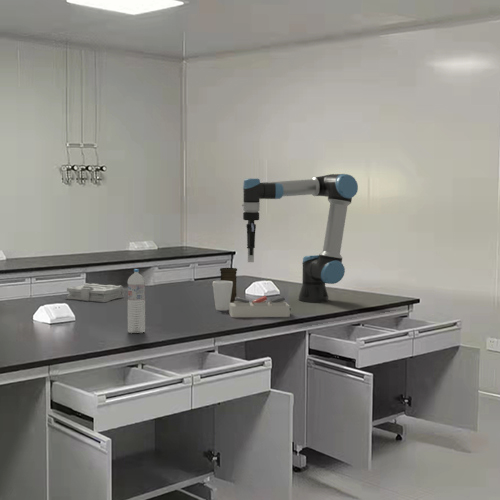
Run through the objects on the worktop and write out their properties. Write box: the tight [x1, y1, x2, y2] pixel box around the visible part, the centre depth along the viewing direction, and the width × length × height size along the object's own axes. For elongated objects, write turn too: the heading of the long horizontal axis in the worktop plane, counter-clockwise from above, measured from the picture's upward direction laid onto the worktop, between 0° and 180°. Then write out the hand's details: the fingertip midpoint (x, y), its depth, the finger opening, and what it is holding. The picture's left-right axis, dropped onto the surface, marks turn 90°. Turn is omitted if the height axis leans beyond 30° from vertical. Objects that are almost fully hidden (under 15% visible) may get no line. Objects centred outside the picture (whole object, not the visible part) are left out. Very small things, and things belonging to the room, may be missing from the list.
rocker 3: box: [269, 295, 286, 303], centre depth 341 cm, size 6×4×1 cm, turn 97°
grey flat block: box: [66, 282, 125, 303], centre depth 388 cm, size 19×28×8 cm
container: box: [219, 267, 238, 303], centre depth 369 cm, size 9×9×18 cm
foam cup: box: [212, 280, 233, 311], centre depth 357 cm, size 10×9×13 cm
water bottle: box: [127, 268, 146, 334], centre depth 299 cm, size 7×7×25 cm
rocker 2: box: [252, 295, 268, 303], centre depth 340 cm, size 6×4×1 cm, turn 97°
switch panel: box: [228, 300, 292, 318], centre depth 343 cm, size 27×10×6 cm, turn 97°
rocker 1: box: [235, 296, 250, 303], centre depth 339 cm, size 6×4×1 cm, turn 98°
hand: (250, 262), depth 356 cm, fingers closed
